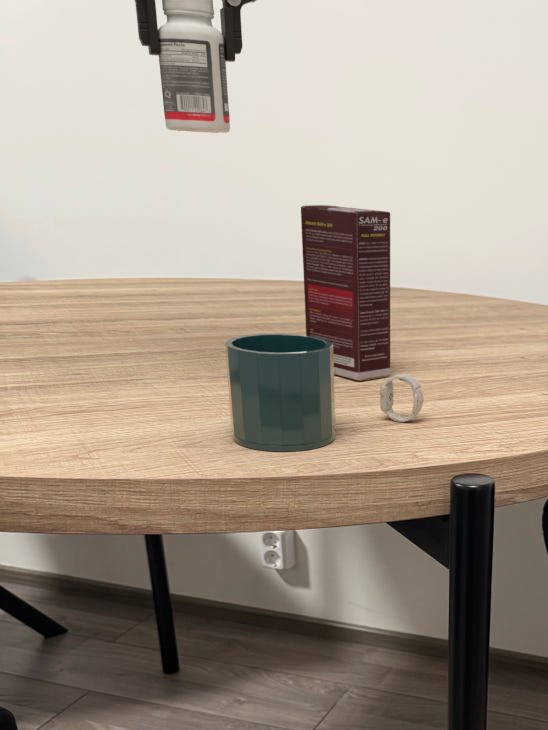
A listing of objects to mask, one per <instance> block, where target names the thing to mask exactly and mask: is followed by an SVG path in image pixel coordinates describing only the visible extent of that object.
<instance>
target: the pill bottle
mask: <svg viewBox="0 0 548 730" xmlns="http://www.w3.org/2000/svg"><path fill="white" fill-rule="evenodd" d="M161 5H162V6H161V7H162V11H163V15H164V16H166V23H164V24H162V25H160V26H159V27H158V37H159V48H160V55H158V64H159V72H160V82H161V94H162V104H163V113H164V114H163V115H164V122H165V123H164V124H165V127H166V129H168V130H170V131H177V132H190V133H191V132H193V133H194V132H195V133H210V134H211V133H213V134H219V133H221V134H223V133H225V134H226V133H227V134H228V133H229V132H230V130H231V124H230V119H231V118H230V106H229V105H230V104H229V93H228V92H229V91H228V79H227V77H228V76H227V64H226V62H227V61H225V44H224V38H223V35H222V33H221V30H219V29H217V28H215V27H214V26H213V24H212V20H213V19H214V18H215V16H214V15H215V10H214V0H161Z"/></svg>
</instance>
